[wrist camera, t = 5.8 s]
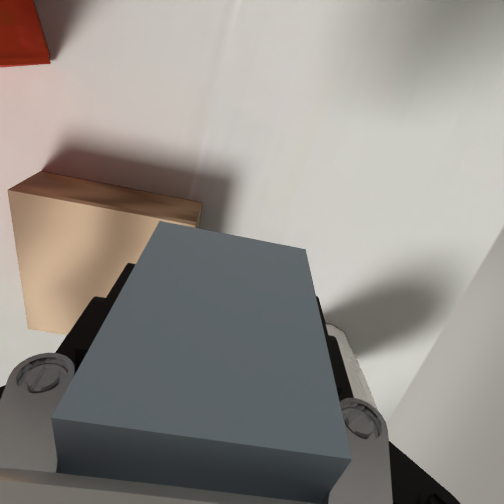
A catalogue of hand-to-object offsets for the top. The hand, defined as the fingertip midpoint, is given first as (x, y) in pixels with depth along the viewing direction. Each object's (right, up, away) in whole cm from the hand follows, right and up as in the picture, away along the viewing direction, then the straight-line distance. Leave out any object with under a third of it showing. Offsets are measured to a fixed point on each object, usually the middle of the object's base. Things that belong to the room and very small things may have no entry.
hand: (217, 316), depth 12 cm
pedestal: (-10, +2, +17) cm, 20 cm away
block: (0, +1, +1) cm, 1 cm away
